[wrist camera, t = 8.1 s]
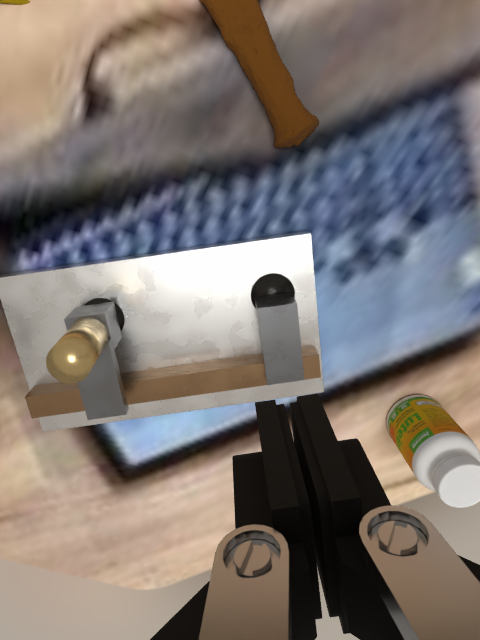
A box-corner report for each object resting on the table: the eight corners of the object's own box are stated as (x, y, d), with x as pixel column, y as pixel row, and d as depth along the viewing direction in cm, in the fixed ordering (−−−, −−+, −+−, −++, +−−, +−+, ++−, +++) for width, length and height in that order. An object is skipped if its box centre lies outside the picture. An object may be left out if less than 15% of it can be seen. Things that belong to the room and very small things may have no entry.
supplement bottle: (397, 387, 42) (447, 449, 33) (450, 400, 43) (513, 464, 34) (376, 435, 44) (418, 508, 35) (427, 447, 45) (481, 521, 36)
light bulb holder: (114, 300, 37) (86, 338, 29) (135, 389, 39) (114, 446, 31) (77, 305, 37) (38, 345, 29) (100, 394, 39) (71, 452, 31)
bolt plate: (307, 230, 37) (318, 239, 33) (320, 384, 42) (331, 409, 38) (2, 274, 37) (-26, 288, 33) (48, 422, 42) (29, 452, 38)
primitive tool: (129, -110, 30) (118, -143, 27) (199, -164, 29) (197, -206, 26) (276, 156, 36) (282, 156, 32) (338, 116, 35) (351, 112, 32)
